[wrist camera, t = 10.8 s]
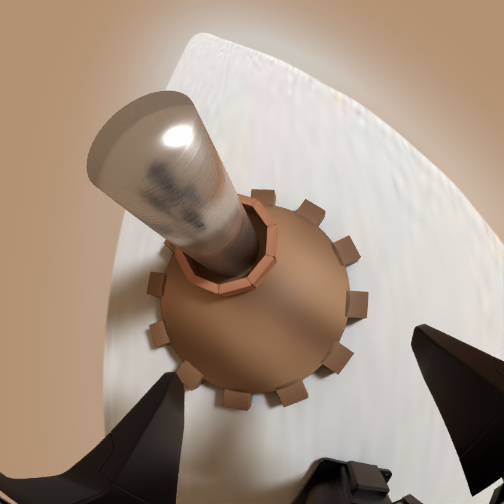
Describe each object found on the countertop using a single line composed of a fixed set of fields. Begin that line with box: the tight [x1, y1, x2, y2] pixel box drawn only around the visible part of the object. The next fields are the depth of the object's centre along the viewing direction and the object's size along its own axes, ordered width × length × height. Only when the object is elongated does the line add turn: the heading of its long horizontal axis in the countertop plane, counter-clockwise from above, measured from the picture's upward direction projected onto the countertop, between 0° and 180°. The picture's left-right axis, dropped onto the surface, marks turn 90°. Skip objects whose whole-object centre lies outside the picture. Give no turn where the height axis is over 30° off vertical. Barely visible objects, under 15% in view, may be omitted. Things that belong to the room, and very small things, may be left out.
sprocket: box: [147, 189, 368, 411], centre depth 19 cm, size 16×16×3 cm
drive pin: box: [87, 91, 259, 277], centre depth 14 cm, size 4×4×13 cm
